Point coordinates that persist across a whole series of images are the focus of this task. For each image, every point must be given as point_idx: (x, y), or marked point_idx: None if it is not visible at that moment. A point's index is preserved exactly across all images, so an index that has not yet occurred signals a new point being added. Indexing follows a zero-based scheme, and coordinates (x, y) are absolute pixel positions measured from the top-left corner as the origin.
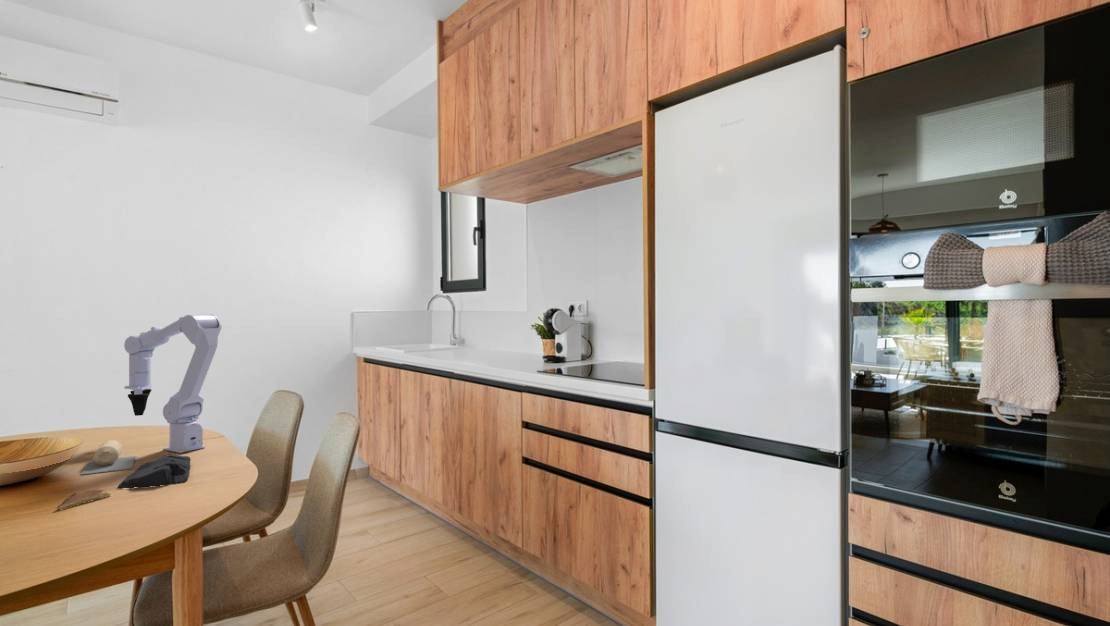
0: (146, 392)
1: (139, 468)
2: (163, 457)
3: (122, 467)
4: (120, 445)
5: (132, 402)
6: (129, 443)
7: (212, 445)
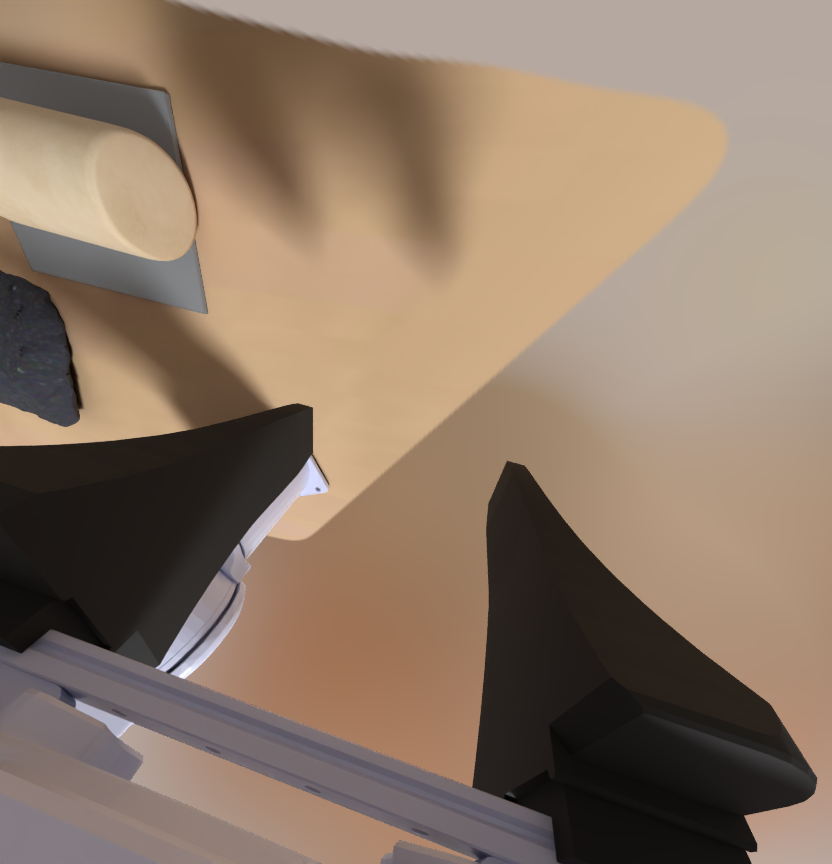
0: (492, 743)
1: (5, 289)
2: (6, 364)
3: (40, 240)
4: (113, 248)
5: (132, 448)
6: (514, 338)
7: (280, 519)
